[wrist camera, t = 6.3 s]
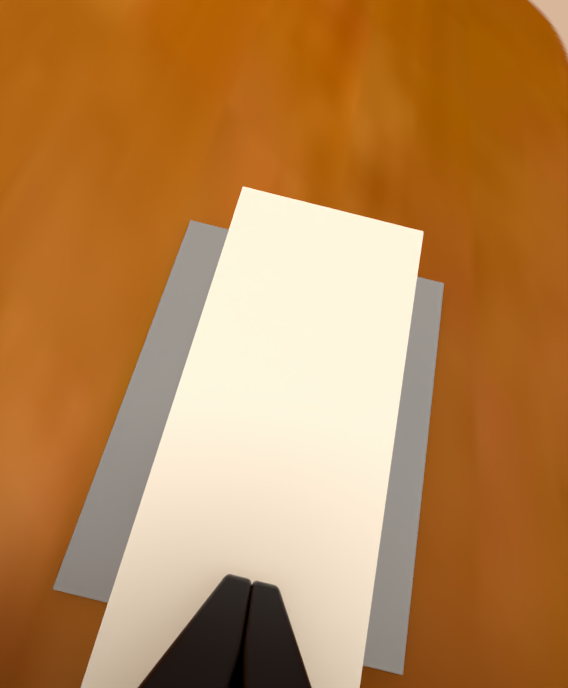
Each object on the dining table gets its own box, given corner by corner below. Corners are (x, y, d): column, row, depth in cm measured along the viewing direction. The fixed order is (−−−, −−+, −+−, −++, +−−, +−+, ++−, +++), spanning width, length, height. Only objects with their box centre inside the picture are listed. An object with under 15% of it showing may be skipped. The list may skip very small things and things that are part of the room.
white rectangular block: (355, 782, 9) (429, 228, 14) (63, 712, 9) (238, 180, 14) (311, 700, 14) (378, 311, 18) (122, 654, 14) (237, 275, 18)
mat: (399, 672, 14) (403, 675, 14) (55, 588, 14) (52, 589, 14) (440, 287, 20) (443, 283, 19) (191, 224, 20) (190, 220, 19)
